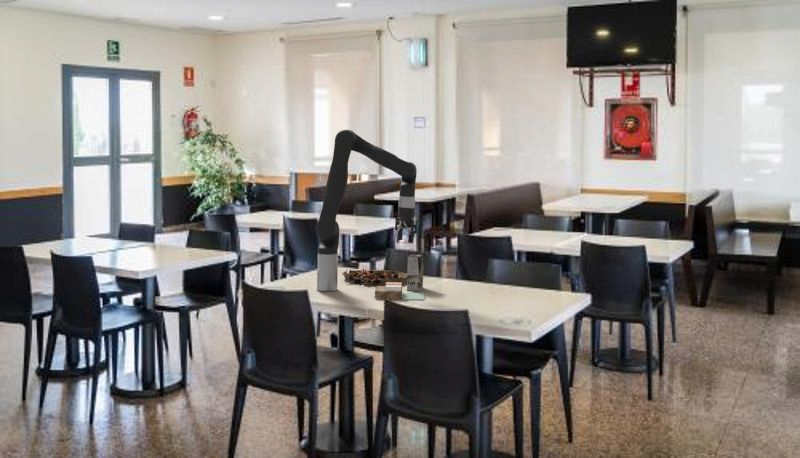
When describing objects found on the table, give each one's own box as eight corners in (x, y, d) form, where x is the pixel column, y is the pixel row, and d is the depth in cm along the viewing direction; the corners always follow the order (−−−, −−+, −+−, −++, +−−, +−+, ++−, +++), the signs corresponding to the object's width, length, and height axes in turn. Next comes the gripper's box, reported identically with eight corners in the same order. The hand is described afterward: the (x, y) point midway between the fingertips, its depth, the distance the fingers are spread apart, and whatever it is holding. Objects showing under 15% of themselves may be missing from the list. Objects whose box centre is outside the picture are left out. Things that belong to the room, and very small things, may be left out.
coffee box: (420, 291, 390) (420, 257, 388) (406, 290, 391) (407, 256, 389) (423, 287, 398) (424, 254, 397) (410, 286, 400) (410, 253, 398)
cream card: (385, 291, 370) (385, 286, 370) (385, 289, 374) (385, 284, 374) (401, 291, 370) (401, 286, 370) (401, 289, 374) (401, 285, 374)
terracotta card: (386, 288, 377) (386, 283, 376) (386, 286, 381) (386, 282, 380) (401, 288, 377) (401, 284, 376) (401, 286, 381) (401, 282, 380)
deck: (374, 298, 370) (375, 291, 369) (376, 293, 382) (376, 285, 382) (401, 299, 370) (402, 291, 369) (402, 293, 382) (402, 286, 382)
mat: (402, 299, 369) (402, 298, 369) (402, 293, 383) (402, 292, 383) (424, 300, 369) (424, 299, 369) (423, 294, 383) (423, 293, 383)
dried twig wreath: (328, 283, 413) (328, 267, 412) (373, 276, 438) (373, 261, 437) (380, 290, 390) (380, 274, 389) (424, 282, 415) (425, 267, 414)
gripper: (391, 204, 382) (389, 239, 384) (408, 208, 371) (407, 244, 373) (404, 204, 387) (403, 239, 389) (422, 207, 375) (421, 243, 377)
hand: (405, 241), depth 381 cm, fingers open, 8 cm apart
